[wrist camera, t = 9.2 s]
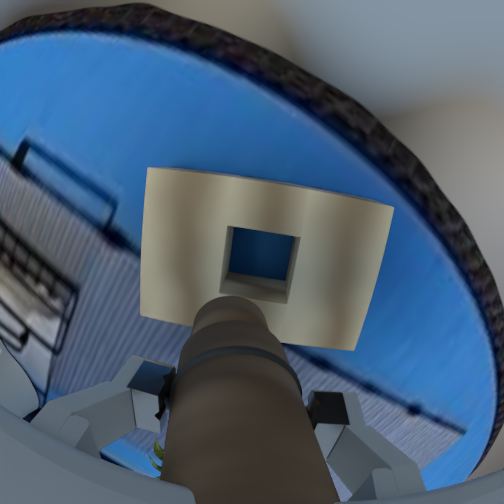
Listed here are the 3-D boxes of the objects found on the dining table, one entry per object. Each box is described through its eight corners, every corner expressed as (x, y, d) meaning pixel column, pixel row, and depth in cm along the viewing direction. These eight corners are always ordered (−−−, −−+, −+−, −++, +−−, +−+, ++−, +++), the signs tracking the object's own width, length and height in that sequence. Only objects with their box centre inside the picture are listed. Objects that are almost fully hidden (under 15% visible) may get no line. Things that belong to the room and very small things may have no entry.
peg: (183, 362, 14) (160, 557, 4) (186, 282, 13) (133, 494, 3) (268, 368, 14) (319, 554, 5) (281, 290, 13) (383, 484, 4)
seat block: (160, 292, 29) (140, 315, 24) (170, 166, 25) (147, 167, 21) (342, 322, 28) (353, 350, 23) (373, 199, 25) (394, 207, 20)
